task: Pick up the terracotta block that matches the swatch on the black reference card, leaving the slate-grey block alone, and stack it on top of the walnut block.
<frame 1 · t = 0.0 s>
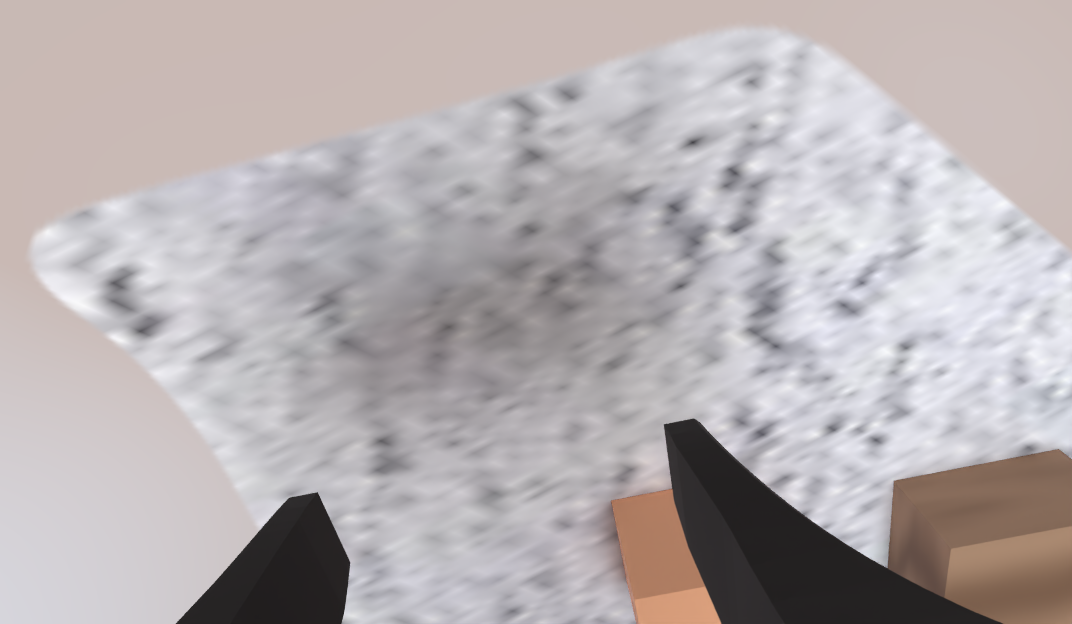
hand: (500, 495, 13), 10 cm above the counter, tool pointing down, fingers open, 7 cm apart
terracotta block: (675, 530, 28), on the counter
walnut block: (963, 520, 29), on the counter
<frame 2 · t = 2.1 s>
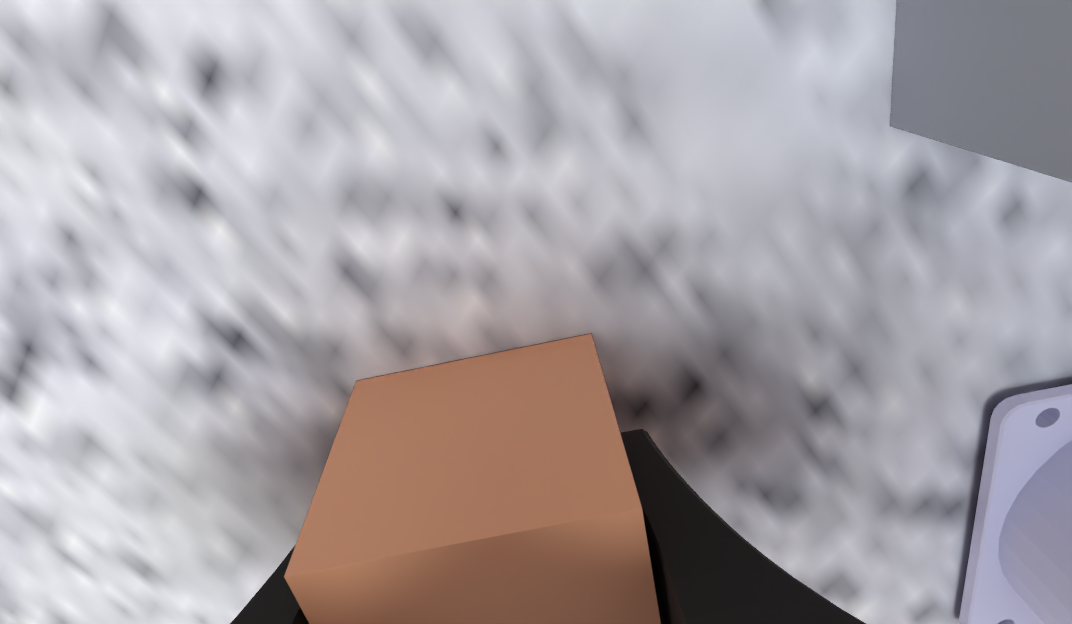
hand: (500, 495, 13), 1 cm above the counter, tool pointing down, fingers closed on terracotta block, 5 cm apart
terracotta block: (499, 451, 14), on the counter, touching gripper
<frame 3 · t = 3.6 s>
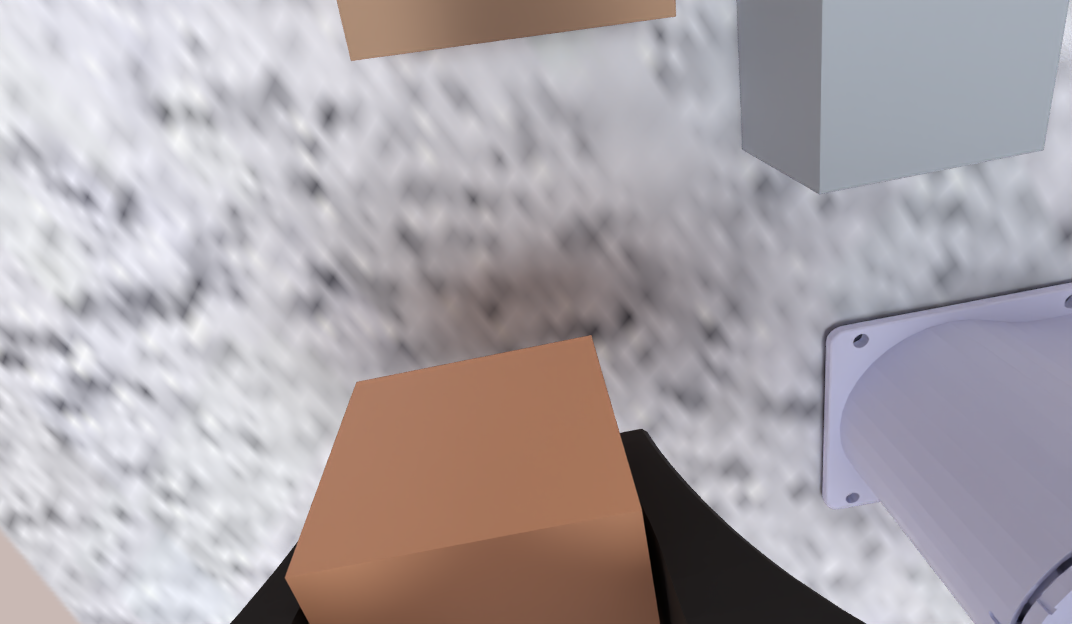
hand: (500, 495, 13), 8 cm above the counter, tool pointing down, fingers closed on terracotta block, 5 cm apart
terracotta block: (499, 452, 14), point 7 cm above the counter, touching gripper
slate block: (827, 41, 17), on the counter
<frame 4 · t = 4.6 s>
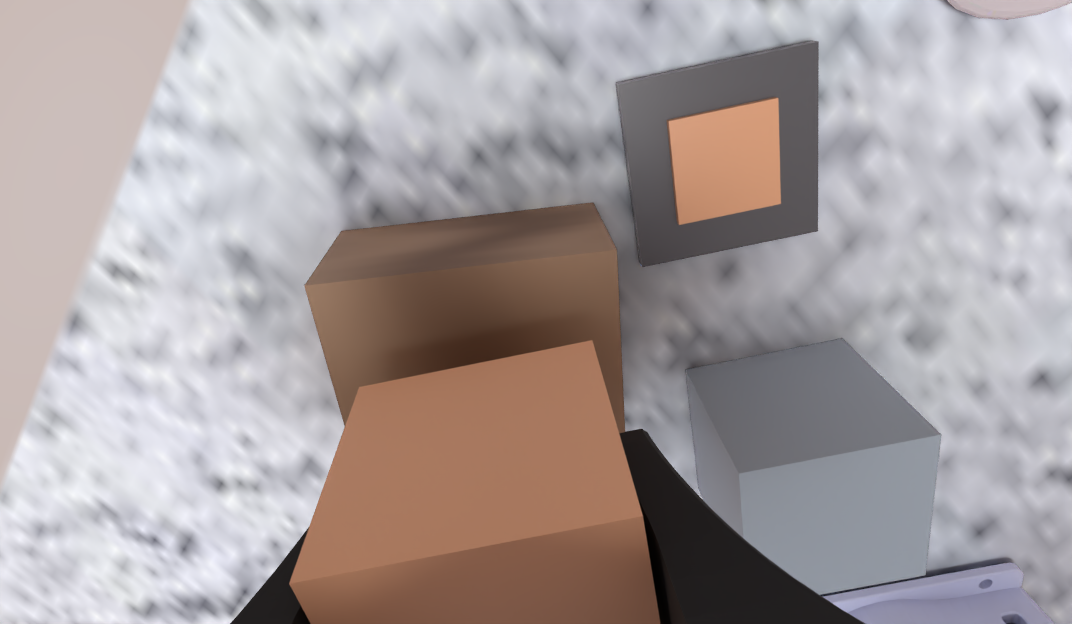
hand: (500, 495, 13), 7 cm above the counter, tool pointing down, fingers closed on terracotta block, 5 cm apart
terracotta block: (501, 456, 14), point 5 cm above the counter, touching gripper
slate block: (765, 415, 21), on the counter
reference card: (719, 159, 17), on the counter
walnut block: (484, 324, 19), on the counter
when the fingers open (7 cm above the counter, at t = 5.1 s): terracotta block drops 2 cm, point 4 cm above the counter.
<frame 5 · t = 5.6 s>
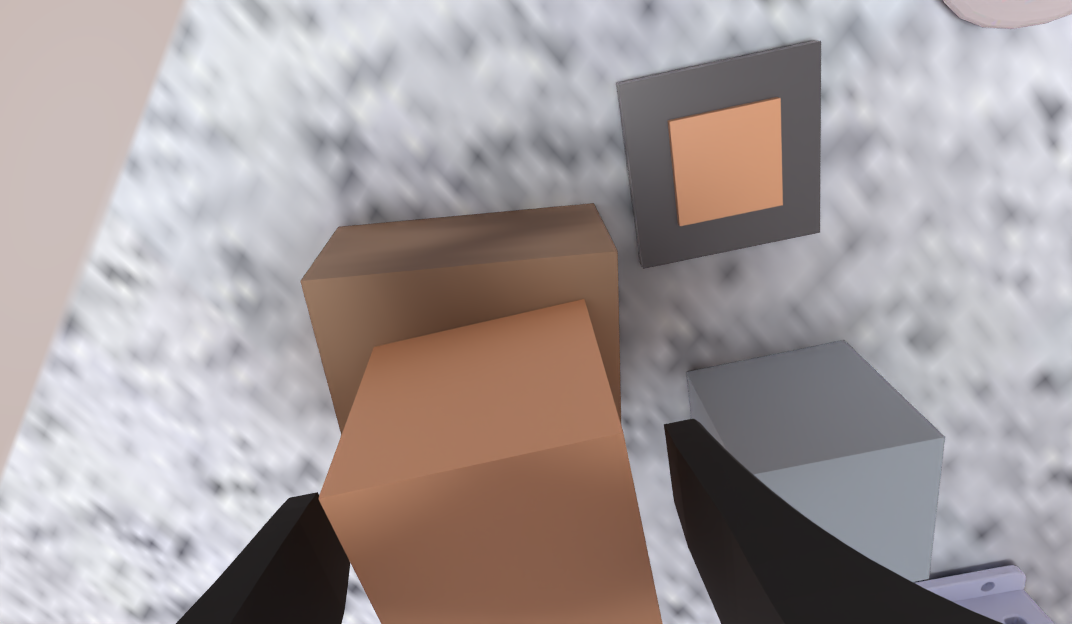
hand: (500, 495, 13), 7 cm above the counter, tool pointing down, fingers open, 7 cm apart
terracotta block: (504, 410, 16), point 4 cm above the counter
slate block: (766, 418, 21), on the counter
reference card: (720, 159, 17), on the counter
walnut block: (481, 323, 19), on the counter
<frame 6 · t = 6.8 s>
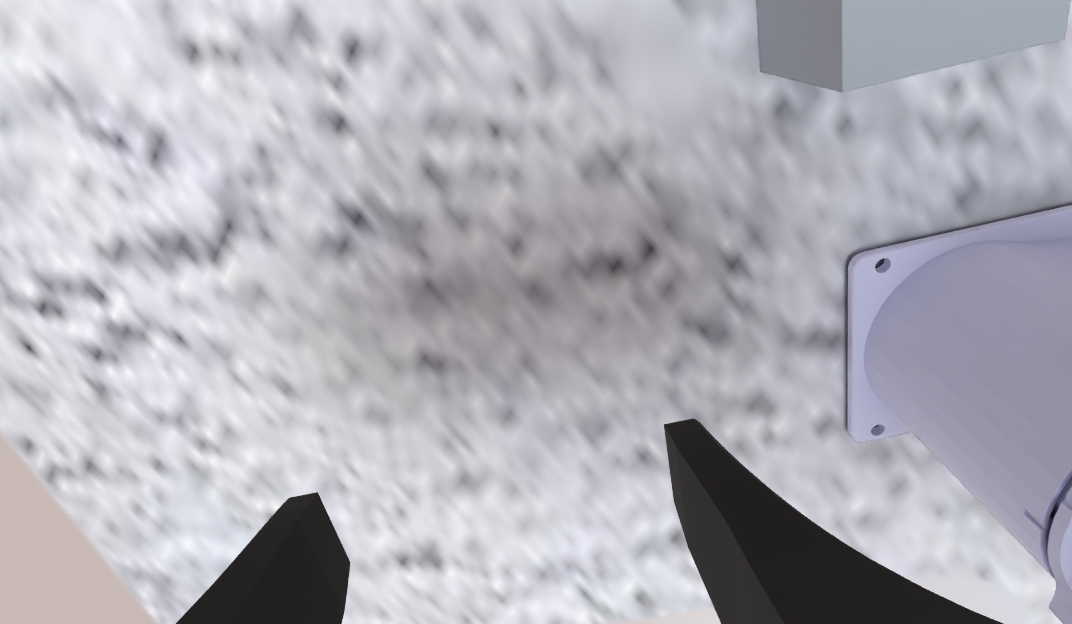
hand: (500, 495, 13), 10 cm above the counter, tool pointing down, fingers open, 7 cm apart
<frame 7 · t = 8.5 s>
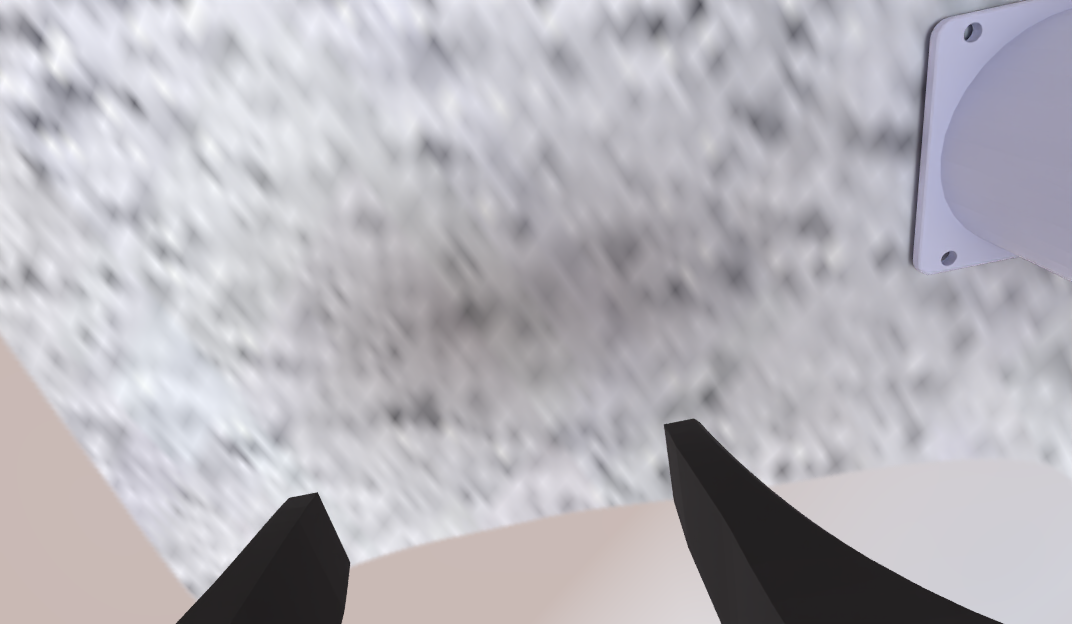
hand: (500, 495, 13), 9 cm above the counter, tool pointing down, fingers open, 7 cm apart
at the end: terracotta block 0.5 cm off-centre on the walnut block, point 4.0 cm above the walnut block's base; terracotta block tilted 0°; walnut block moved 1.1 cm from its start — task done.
